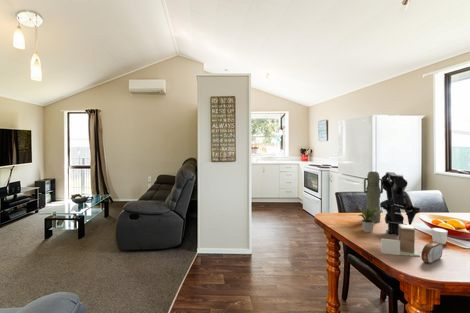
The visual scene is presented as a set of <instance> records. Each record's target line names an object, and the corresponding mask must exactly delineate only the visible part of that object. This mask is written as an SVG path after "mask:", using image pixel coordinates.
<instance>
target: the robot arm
mask: <svg viewBox="0 0 470 313" xmlns="http://www.w3.org/2000/svg"><path fill="white" fill-rule="evenodd" d="M381 179H382V180H380V186H381V185H383V191H385V192H386V199H385V200H383V201H380V208H382V209H383V210H384V211H386V213H385V216H384V222H385V224H386V225H387V229H386V230H385V231H386V232H387V234H388V235H392V236H399V224H404V220H405V217H404V215H403V214H402V211H401V210H403V211H405V215H406V216H407V222H408V225H412V223H413V222H414V219H415V217H416V215H417V214H419V213H421V208H419V207H418V206H414V205H410V206H408V203H407V202H406V199H407V198H408V197H407V195H405V190H406V188H407V187H408V180H407V179H406V177H405V176H404V175H403V174H396V172H394V171H387V172H385V174H384V175H382V177H381Z"/></svg>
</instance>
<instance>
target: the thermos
mask: <svg viewBox="0 0 470 313" xmlns="http://www.w3.org/2000/svg"><path fill="white" fill-rule="evenodd" d="M366 175H367V176H366V178H364V179H363V192H364V193H365V195H366V206H367V208H368V207H369V206H370V208H371V210H370V211H373V210H374V209H376V208H378V209H376V210H377V211H375V212H376V214H375V212H374V213H373V214H374V215H375V216H377V217H376V218H375V217H373V218H371V220H373V221H374V224H375V223H380V222H381V209H380V208H381V207H380V203H381V201H380V198H381V195H382V194H383V193H384V189H383V185H381V180H382V178H380V173H379V172H378V171H368V173H367V174H366ZM366 182H367V183H366ZM367 208H366V210H365V211H367ZM371 213H372V212H370V214H371ZM373 214H372V215H373ZM378 216H379V218H378Z"/></svg>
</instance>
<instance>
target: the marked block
mask: <svg viewBox="0 0 470 313" xmlns="http://www.w3.org/2000/svg"><path fill="white" fill-rule="evenodd" d="M415 232H416V229H415V227H414V226H413V225H412V224H411V225H409V224H405V223H403V224H399V235H398V240H400V250H401V252H408V253H414V249H415V241H416V240H415V239H416V238H415V236H416V235H415Z"/></svg>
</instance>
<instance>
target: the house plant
mask: <svg viewBox="0 0 470 313" xmlns="http://www.w3.org/2000/svg"><path fill="white" fill-rule="evenodd" d="M365 207H366V210H367V211H366V210H364V209H363V208H362V207H361V206H359V208H358V210H359V211H360V212H361V214H358V215H357V217H360V216H361V217H362V218H363V219H361V223H362V229H363V231H364V232H367V233H372V232H373V230H374V226H375V223H374V221H373V220H371V218H373V217H375V218H376V217H377V216H375V215H374V214H373V213H374V212H375V211H377V210H376V209H378V208H376V209H374V210H373V211H370V210H371V208H370V206H369V207H368V208H367V205H365ZM370 212H372V213H371V214H370ZM372 214H373V215H372ZM375 214H376V212H375ZM378 218H379V216H378Z"/></svg>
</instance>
